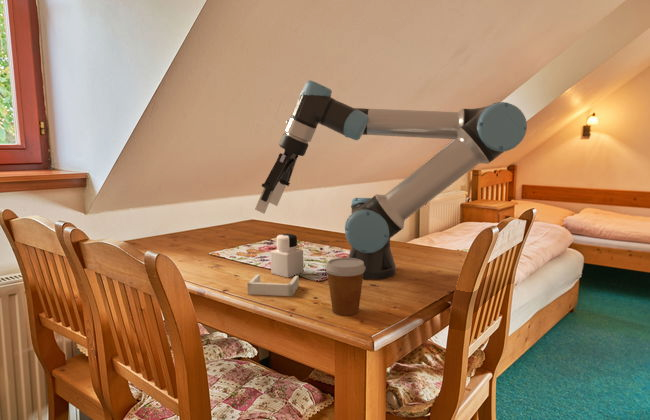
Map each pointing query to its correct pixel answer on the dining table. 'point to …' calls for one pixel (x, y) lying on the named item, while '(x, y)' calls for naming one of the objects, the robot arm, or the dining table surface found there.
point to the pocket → (272, 287)
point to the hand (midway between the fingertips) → (266, 207)
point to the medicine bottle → (286, 257)
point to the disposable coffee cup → (345, 284)
